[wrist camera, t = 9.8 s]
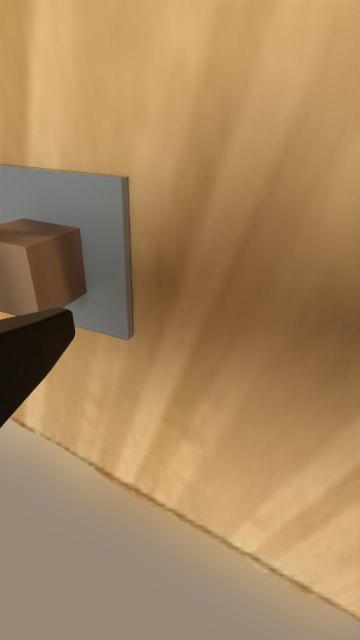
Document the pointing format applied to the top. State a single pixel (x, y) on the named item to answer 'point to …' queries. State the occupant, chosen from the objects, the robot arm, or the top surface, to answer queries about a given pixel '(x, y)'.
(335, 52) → the top surface
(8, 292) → the walnut block
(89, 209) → the plate
